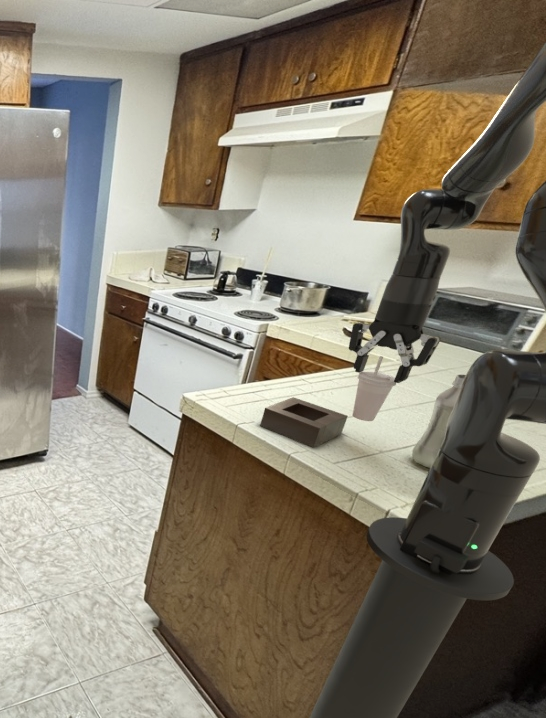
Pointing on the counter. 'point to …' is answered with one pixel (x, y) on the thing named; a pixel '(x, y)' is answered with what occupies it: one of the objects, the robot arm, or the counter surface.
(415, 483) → the counter surface
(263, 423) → the holder
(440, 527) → the robot arm
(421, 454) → the plastic bottle
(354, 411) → the smoothie
